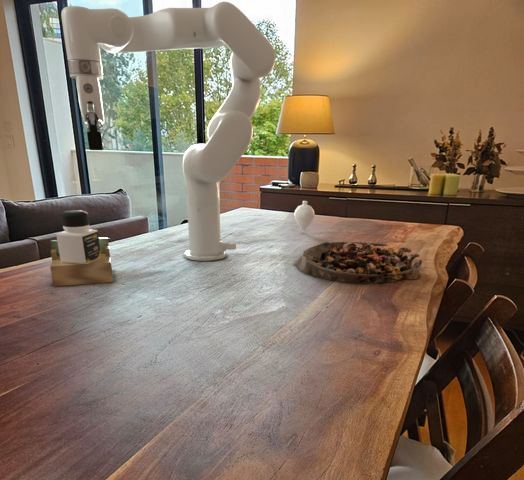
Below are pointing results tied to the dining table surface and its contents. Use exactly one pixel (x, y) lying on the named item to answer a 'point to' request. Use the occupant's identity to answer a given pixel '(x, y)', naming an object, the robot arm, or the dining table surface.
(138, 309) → the dining table surface
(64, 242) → the medicine bottle
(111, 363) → the dining table surface
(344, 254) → the food dish
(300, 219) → the spinning top
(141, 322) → the dining table surface
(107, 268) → the spice rack
